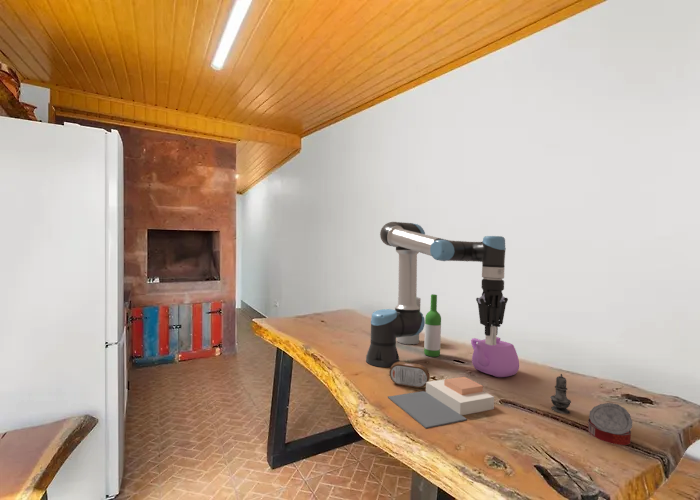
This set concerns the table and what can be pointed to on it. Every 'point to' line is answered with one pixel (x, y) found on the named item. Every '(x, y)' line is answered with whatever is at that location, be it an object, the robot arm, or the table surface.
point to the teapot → (495, 358)
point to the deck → (460, 398)
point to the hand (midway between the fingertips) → (490, 344)
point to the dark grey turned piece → (560, 396)
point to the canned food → (610, 424)
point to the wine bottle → (432, 330)
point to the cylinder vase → (410, 339)
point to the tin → (409, 374)
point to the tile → (463, 385)
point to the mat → (426, 409)
